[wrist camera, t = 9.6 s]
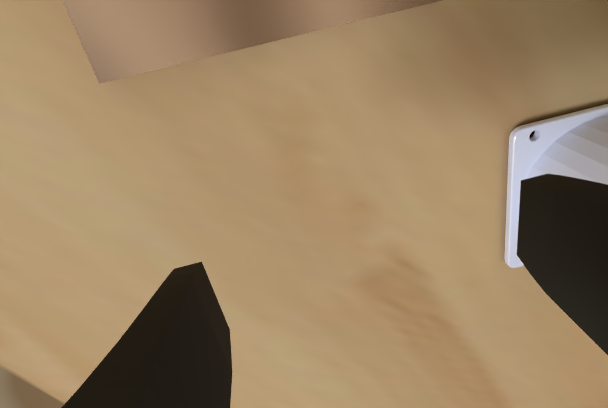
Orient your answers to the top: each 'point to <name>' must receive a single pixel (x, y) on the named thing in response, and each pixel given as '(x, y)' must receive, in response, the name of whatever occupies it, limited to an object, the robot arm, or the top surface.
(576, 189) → the robot arm
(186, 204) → the top surface
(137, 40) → the peg plate
